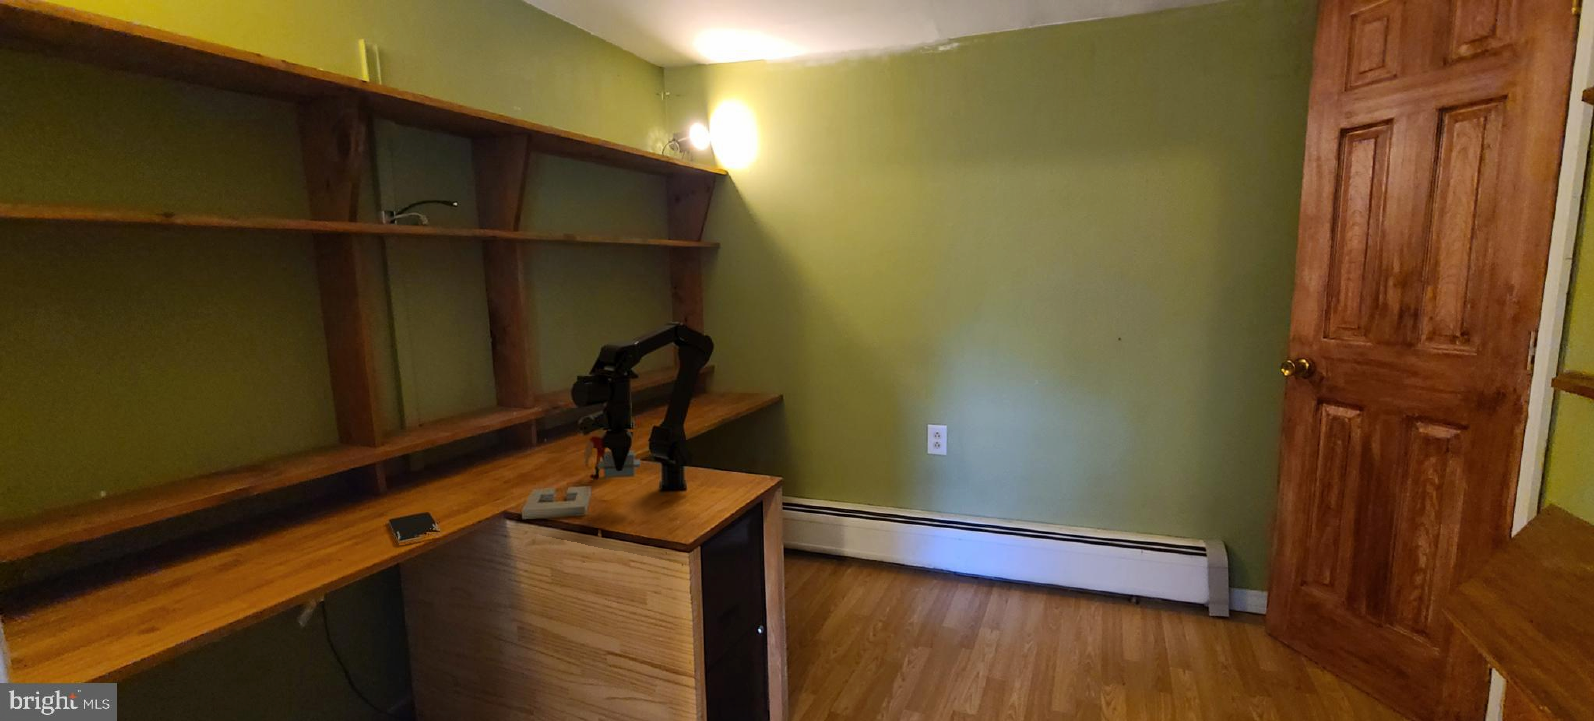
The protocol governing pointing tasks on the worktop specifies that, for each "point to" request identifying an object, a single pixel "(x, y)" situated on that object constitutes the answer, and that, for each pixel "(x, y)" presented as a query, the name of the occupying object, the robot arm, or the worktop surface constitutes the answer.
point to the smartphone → (413, 526)
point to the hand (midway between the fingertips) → (619, 467)
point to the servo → (611, 469)
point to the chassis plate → (556, 503)
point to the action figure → (596, 443)
